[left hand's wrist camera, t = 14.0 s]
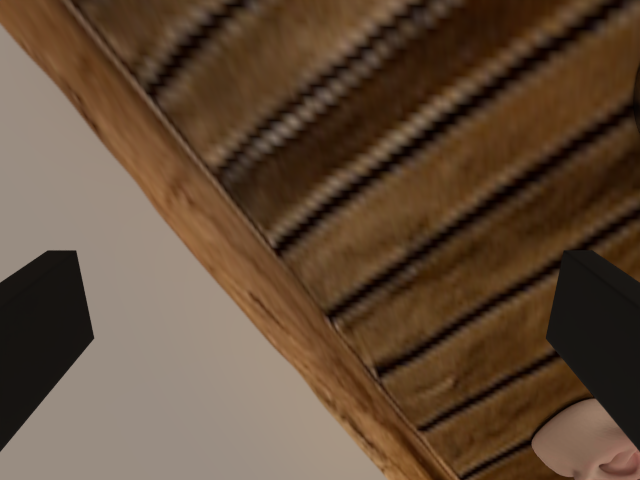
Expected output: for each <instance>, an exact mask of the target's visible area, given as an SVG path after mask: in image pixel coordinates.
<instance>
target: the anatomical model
mask: <svg viewBox="0 0 640 480" xmlns="http://www.w3.org/2000/svg"><path fill="white" fill-rule="evenodd" d="M532 448H533V450H534V451H535V453H536V454H537V456H538V457H539V458H540V459H541V460H542V461H543V462H544V463H545V464H546V465H547V466H548V467H549V468H551V469H552V470H553V471H555V472H556V473H558V474H560V475H562V476H567V477H574V479H575V480H640V452H639V450H638V449H637V448H636V447H635V445H634V444H633V443H632V442H631V441H630V439H629V438H628V437H627V436H626V435H625V433H624V432H623V431H622V430H621V429H620V427H619V426H618V425H617V424H616V423H615V421H614V420H613V419H612V418H611V416H610V415H609V414H608V413H607V412H606V410H605V409H604V408H603V407H602V406H601V404H600V403H599V402H598V401H597V400H596V399H588V400H584V401H581V402H578V403H576V404H574V405H571V406H570V407H568V408H566V409H565V410H563V411H562V412H560V413H559V414H557V415H556V416H555V417H553V418H552V419H551V420H550V421H549V422H547V423H546V424H545V425H544V426H543V427H542V428H541V429H540V430H539V431H538V432H537V433H536V435H535V436H534V438H533V440H532Z"/></svg>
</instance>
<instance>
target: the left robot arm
mask: <svg viewBox="0 0 640 480" xmlns="http://www.w3.org/2000/svg"><path fill="white" fill-rule="evenodd" d="M634 114H635V120H636V124H637V128H638V131H639V133H640V69H639V72H638V76H637V80H636V85H635V91H634ZM93 339H94V335H93V330H92V325H91V320H90V316H89V311H88V306H87V301H86V296H85V291H84V286H83V281H82V276H81V272H80V267H79V262H78V257H77V252H76V251H46V252H45V253H43V254H42V255H40V256H39V257H37V258H36V259H34V260H33V261H32V262H30V263H29V264H27V265H26V266H24V267H23V268H21V269H20V270H18V271H17V272H15V273H14V274H12V275H11V276H9V277H8V278H6V279H5V280H3V281H2V282H1V283H0V451H1V450H2V449H3V448H4V447H5V445H6V444H7V443H8V442H9V441H10V439H11V438H12V437H13V436H14V435H15V433H16V432H17V431H18V430H19V429H20V427H21V426H22V425H23V424H24V423H25V421H26V420H27V419H28V418H29V416H30V415H31V414H32V413H33V412H34V410H35V409H36V408H37V407H38V406H39V404H40V403H41V402H42V401H43V400H44V398H45V397H46V396H47V395H48V394H49V392H50V391H51V390H52V389H53V388H54V386H55V385H56V384H57V383H58V381H59V380H60V379H61V378H62V377H63V375H64V374H65V373H66V372H67V371H68V369H69V368H70V367H71V366H72V365H73V363H74V362H75V361H76V360H77V358H78V357H79V356H80V355H81V354H82V352H83V351H84V350H85V349H86V348H87V346H88V345H89V344H90V343H91V342H92V340H93ZM546 339H547V340H548V342H549V343H550V344H551V345H552V346H553V348H554V349H555V350H556V351H557V352H558V354H559V355H560V356H561V357H562V359H563V360H564V361H565V362H566V363H567V365H568V366H569V367H570V368H571V369H572V371H573V372H574V373H575V374H576V375H577V377H578V378H579V379H580V380H581V381H582V383H583V384H584V385H585V386H586V388H587V389H588V390H589V391H590V392H591V394H592V395H593V396H594V397H595V398H596V400H597V401H598V402H599V403H600V404H601V406H602V407H603V408H604V409H605V410H606V412H607V413H608V414H609V415H610V416H611V418H612V419H613V420H614V421H615V423H616V424H617V425H618V426H619V427H620V429H621V430H622V431H623V432H624V433H625V435H626V436H627V437H628V438H629V439H630V441H631V442H632V443H633V444H634V445H635V447H636V448H637V449H638V450H639V452H640V283H639V282H638V281H637V280H635V279H634V278H632V277H631V276H629V275H628V274H626V273H625V272H623V271H622V270H620V269H619V268H617V267H616V266H614V265H613V264H611V263H610V262H609V261H607V260H606V259H604V258H603V257H601V256H600V255H598V254H597V253H595V252H594V251H564V252H563V257H562V262H561V267H560V272H559V276H558V281H557V286H556V291H555V296H554V301H553V306H552V311H551V315H550V320H549V325H548V330H547V335H546Z"/></svg>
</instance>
